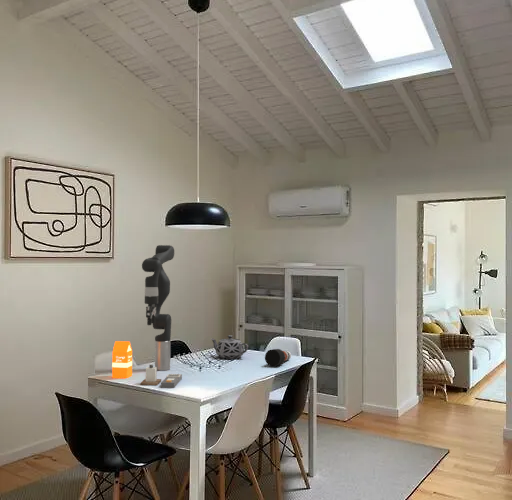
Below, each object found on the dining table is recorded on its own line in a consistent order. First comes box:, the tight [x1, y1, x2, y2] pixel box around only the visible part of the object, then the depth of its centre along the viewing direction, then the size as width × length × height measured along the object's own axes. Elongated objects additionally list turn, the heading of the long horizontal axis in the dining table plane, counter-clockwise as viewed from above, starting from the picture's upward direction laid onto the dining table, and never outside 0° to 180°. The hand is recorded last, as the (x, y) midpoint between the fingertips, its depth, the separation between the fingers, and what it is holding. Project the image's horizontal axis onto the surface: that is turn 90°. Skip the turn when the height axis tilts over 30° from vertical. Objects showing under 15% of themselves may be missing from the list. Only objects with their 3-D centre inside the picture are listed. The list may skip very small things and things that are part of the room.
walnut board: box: [139, 378, 162, 386], centre depth 296 cm, size 10×9×1 cm
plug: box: [145, 364, 158, 382], centre depth 296 cm, size 4×5×8 cm
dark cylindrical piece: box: [264, 348, 292, 367], centre depth 358 cm, size 10×34×10 cm, turn 158°
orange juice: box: [111, 340, 133, 379], centre depth 312 cm, size 8×9×20 cm
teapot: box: [210, 335, 249, 360], centre depth 376 cm, size 19×31×15 cm, turn 60°
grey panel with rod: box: [160, 373, 183, 389], centre depth 300 cm, size 30×7×3 cm, turn 177°
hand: (151, 324), depth 308 cm, fingers open, 8 cm apart
